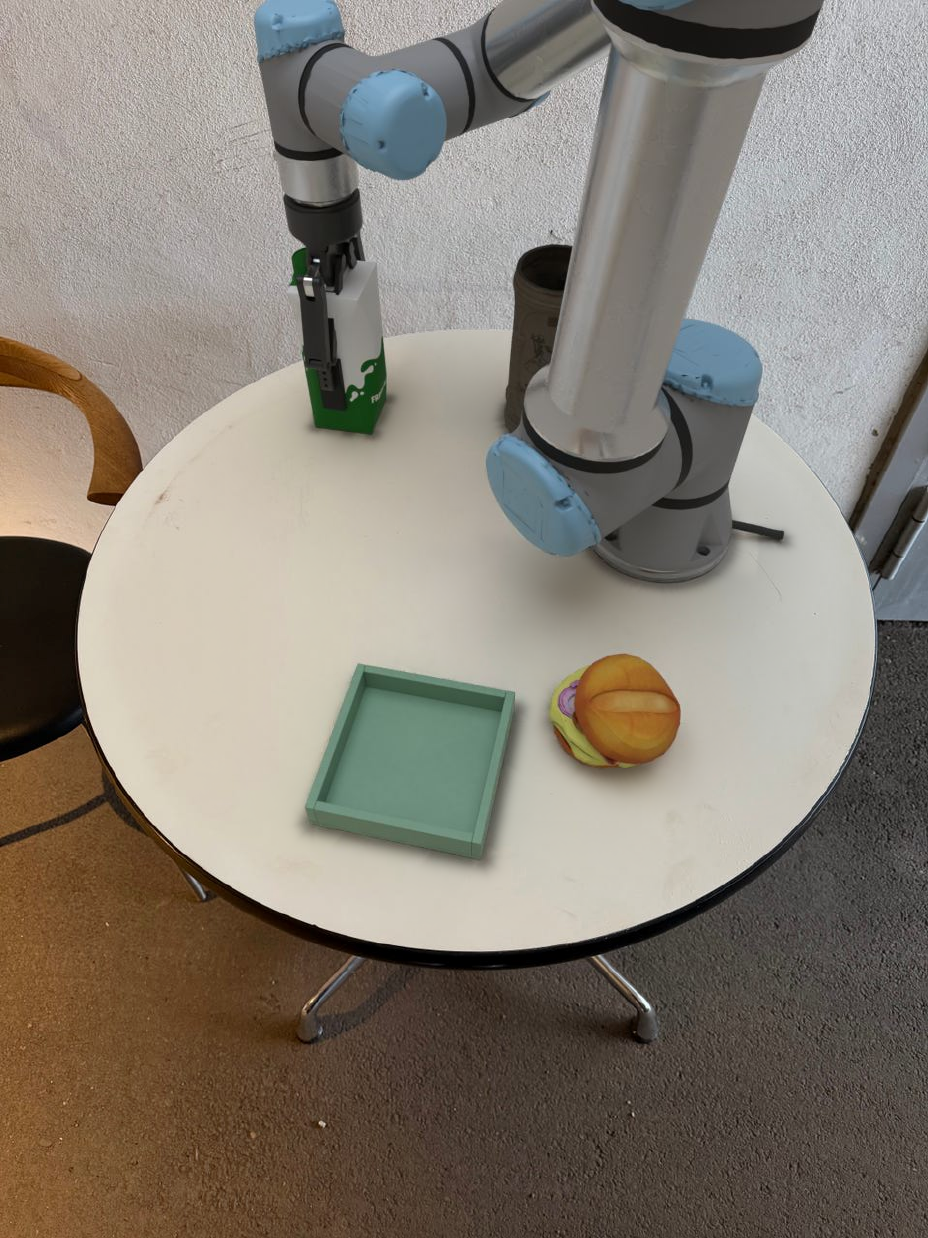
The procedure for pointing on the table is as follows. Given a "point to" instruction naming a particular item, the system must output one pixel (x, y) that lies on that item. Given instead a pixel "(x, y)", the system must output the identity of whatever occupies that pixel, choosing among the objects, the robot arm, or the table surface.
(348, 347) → the soya milk
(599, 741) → the cheeseburger
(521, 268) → the beer stein
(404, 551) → the table surface
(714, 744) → the table surface
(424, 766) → the tray
